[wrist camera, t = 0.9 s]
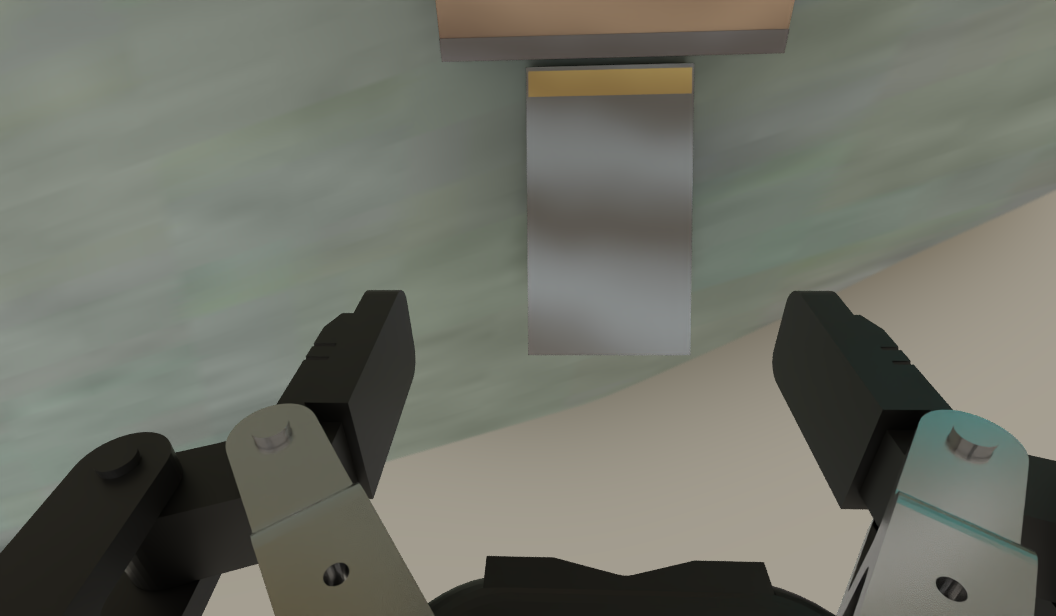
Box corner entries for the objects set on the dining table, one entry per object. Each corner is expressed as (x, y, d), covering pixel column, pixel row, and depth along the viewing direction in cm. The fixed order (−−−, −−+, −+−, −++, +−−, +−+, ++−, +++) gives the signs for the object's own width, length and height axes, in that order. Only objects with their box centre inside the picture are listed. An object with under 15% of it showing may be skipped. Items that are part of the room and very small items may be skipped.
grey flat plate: (527, 78, 29) (526, 67, 27) (686, 74, 28) (694, 63, 27) (529, 350, 30) (528, 355, 28) (682, 350, 29) (690, 354, 28)
